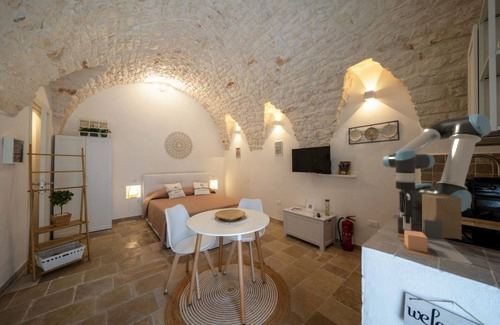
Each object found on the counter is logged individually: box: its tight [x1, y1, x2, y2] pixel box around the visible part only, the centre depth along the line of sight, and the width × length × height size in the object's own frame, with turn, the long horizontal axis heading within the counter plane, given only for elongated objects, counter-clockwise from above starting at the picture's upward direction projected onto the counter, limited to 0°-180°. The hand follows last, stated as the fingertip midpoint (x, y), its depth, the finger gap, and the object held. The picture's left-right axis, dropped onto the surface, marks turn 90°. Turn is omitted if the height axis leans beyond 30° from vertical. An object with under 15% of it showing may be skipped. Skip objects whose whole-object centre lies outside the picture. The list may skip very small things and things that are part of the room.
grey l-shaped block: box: [422, 219, 473, 265], centre depth 78 cm, size 24×8×9 cm, turn 151°
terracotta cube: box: [404, 230, 428, 252], centre depth 78 cm, size 6×6×6 cm
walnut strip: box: [395, 216, 435, 259], centre depth 83 cm, size 24×8×9 cm, turn 151°
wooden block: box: [421, 194, 462, 241], centre depth 91 cm, size 10×10×20 cm
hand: (405, 227), depth 92 cm, fingers open, 5 cm apart
